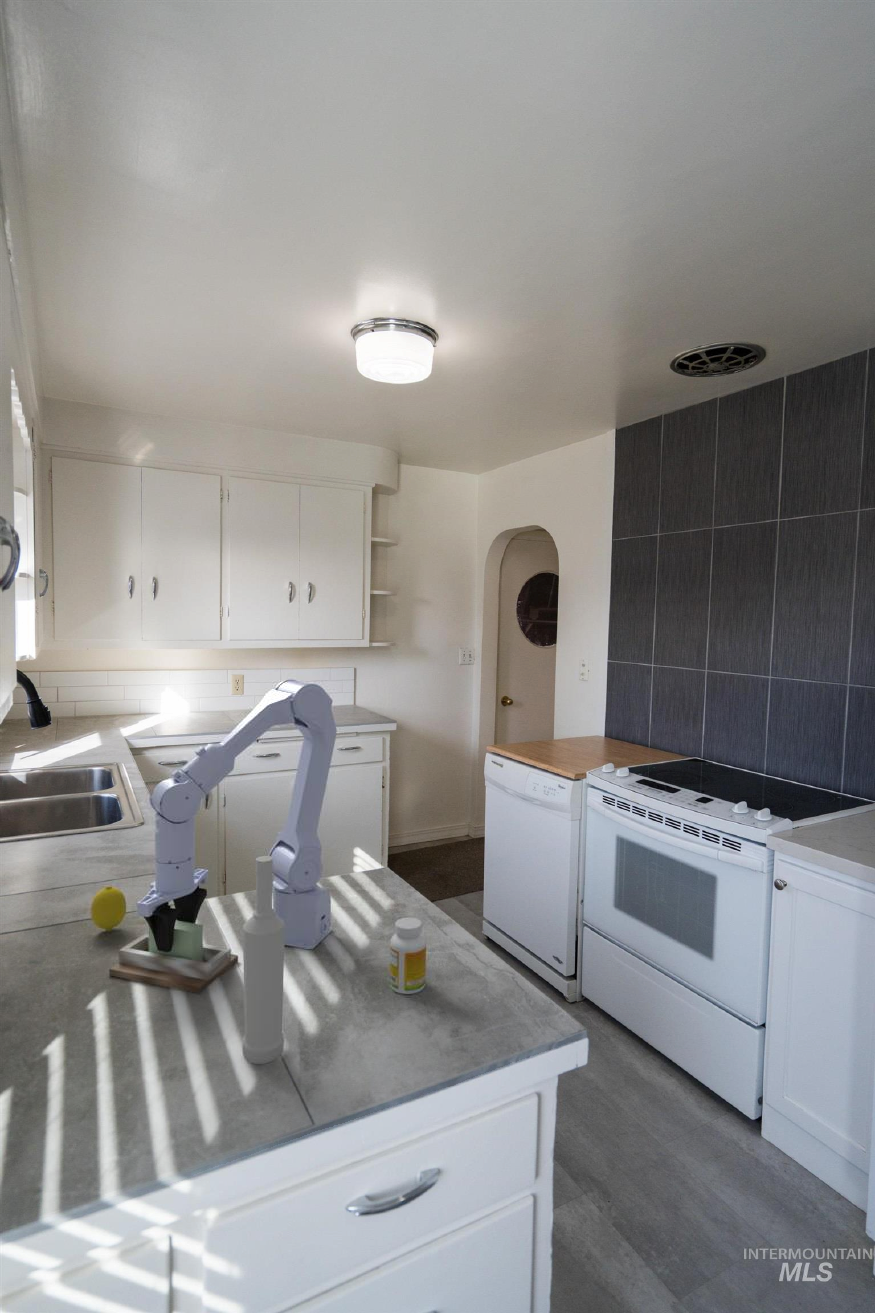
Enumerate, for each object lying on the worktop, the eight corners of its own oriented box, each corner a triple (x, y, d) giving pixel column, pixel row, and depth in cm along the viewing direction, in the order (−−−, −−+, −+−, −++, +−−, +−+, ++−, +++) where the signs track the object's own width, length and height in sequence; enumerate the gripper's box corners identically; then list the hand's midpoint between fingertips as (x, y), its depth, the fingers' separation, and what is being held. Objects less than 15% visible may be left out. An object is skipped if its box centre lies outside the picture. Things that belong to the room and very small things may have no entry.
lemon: (112, 940, 117) (112, 893, 117) (83, 936, 118) (83, 890, 118) (133, 925, 123) (132, 881, 122) (105, 922, 124) (105, 878, 123)
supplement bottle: (430, 980, 106) (431, 918, 106) (417, 998, 101) (419, 933, 100) (397, 973, 108) (398, 912, 107) (384, 991, 103) (384, 927, 102)
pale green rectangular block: (202, 962, 108) (202, 925, 108) (192, 970, 106) (192, 932, 105) (159, 954, 110) (159, 917, 110) (148, 961, 108) (148, 924, 108)
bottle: (246, 1040, 90) (247, 852, 89) (286, 1039, 91) (288, 851, 89) (238, 1066, 85) (239, 866, 84) (281, 1064, 85) (282, 866, 84)
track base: (238, 961, 111) (238, 943, 110) (199, 993, 101) (199, 973, 101) (154, 946, 115) (154, 928, 115) (109, 975, 106) (109, 956, 106)
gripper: (183, 840, 115) (183, 920, 116) (119, 870, 101) (120, 960, 102) (219, 845, 113) (219, 926, 114) (159, 876, 99) (160, 968, 100)
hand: (175, 943), depth 108 cm, fingers open, 4 cm apart
